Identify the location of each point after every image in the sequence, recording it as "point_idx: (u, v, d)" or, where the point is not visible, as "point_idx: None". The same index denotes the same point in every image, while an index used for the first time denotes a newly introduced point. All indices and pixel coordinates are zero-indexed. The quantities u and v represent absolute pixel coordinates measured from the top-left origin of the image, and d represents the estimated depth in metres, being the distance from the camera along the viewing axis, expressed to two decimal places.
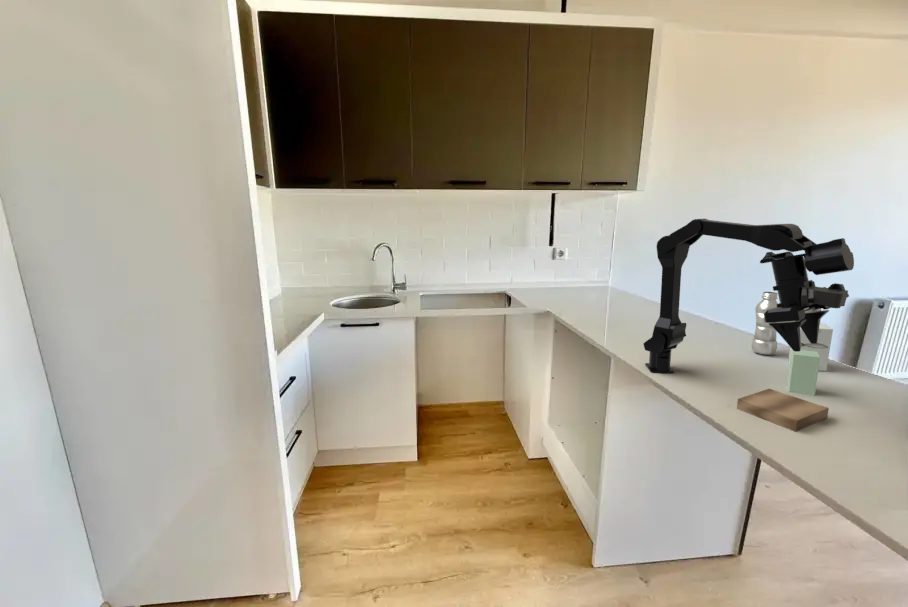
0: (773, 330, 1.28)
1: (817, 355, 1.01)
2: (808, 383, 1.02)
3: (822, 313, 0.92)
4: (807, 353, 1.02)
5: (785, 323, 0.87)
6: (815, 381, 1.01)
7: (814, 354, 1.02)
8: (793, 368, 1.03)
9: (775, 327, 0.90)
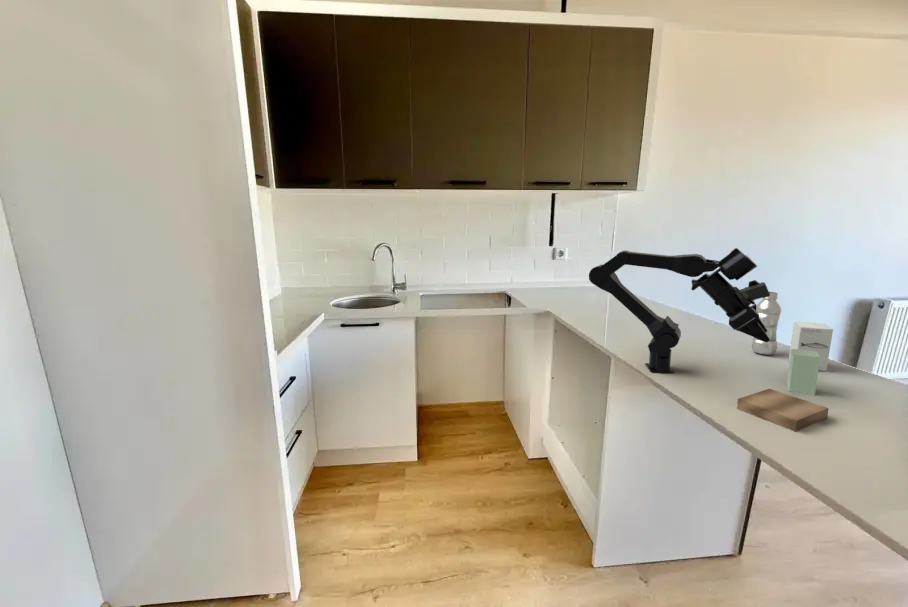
0: (773, 330, 1.28)
1: (817, 355, 1.01)
2: (808, 383, 1.02)
3: (755, 307, 1.11)
4: (807, 353, 1.02)
5: (748, 323, 1.02)
6: (815, 381, 1.01)
7: (814, 354, 1.02)
8: (793, 368, 1.03)
9: (742, 330, 1.04)
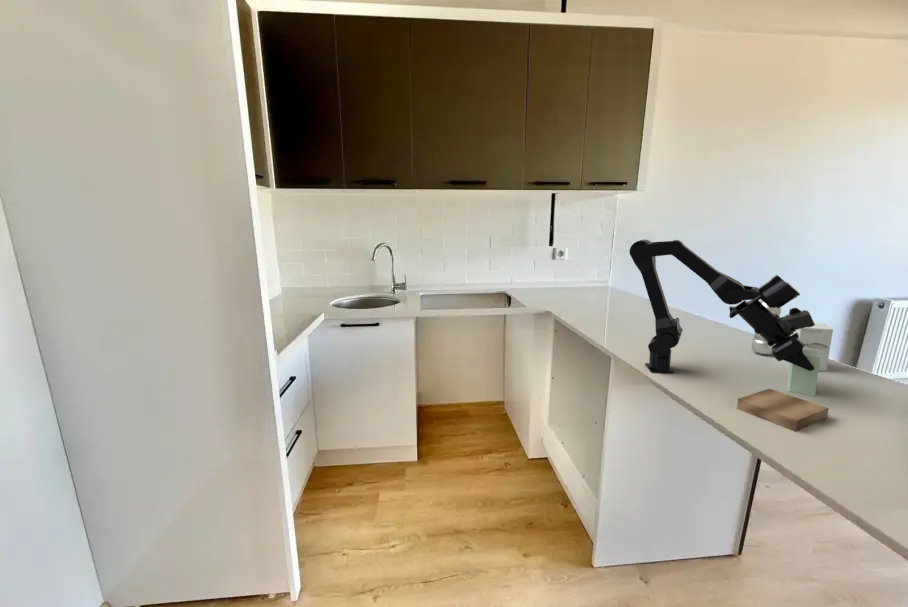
0: None
1: (817, 355, 1.01)
2: (808, 383, 1.02)
3: (797, 337, 1.06)
4: (808, 353, 1.02)
5: None
6: (815, 381, 1.01)
7: (814, 354, 1.02)
8: (793, 368, 1.03)
9: (785, 359, 1.02)
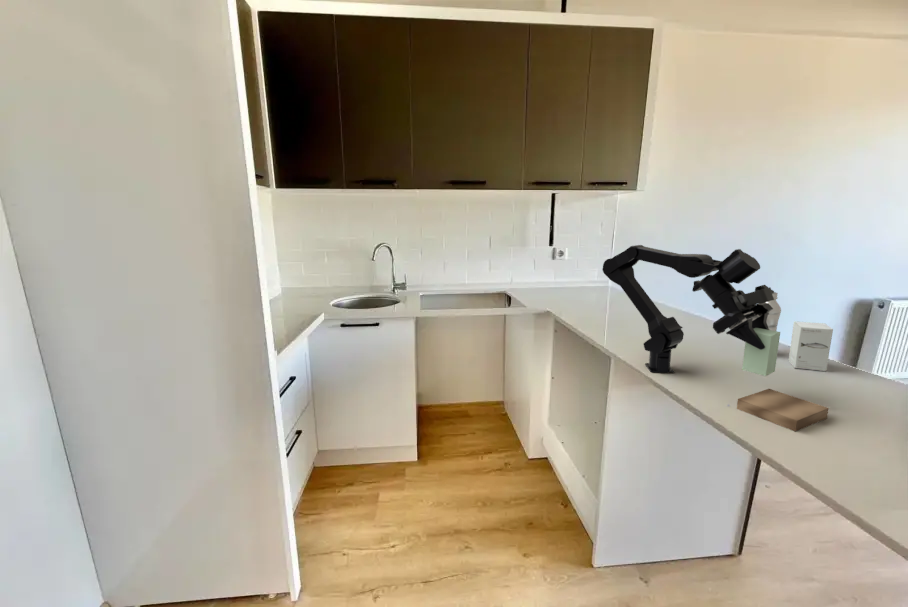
0: (773, 330, 1.28)
1: (772, 334, 0.96)
2: (760, 362, 0.98)
3: (763, 316, 1.01)
4: (764, 332, 0.98)
5: (736, 327, 0.98)
6: (766, 361, 0.97)
7: (770, 333, 0.97)
8: (746, 346, 1.00)
9: (733, 334, 1.00)
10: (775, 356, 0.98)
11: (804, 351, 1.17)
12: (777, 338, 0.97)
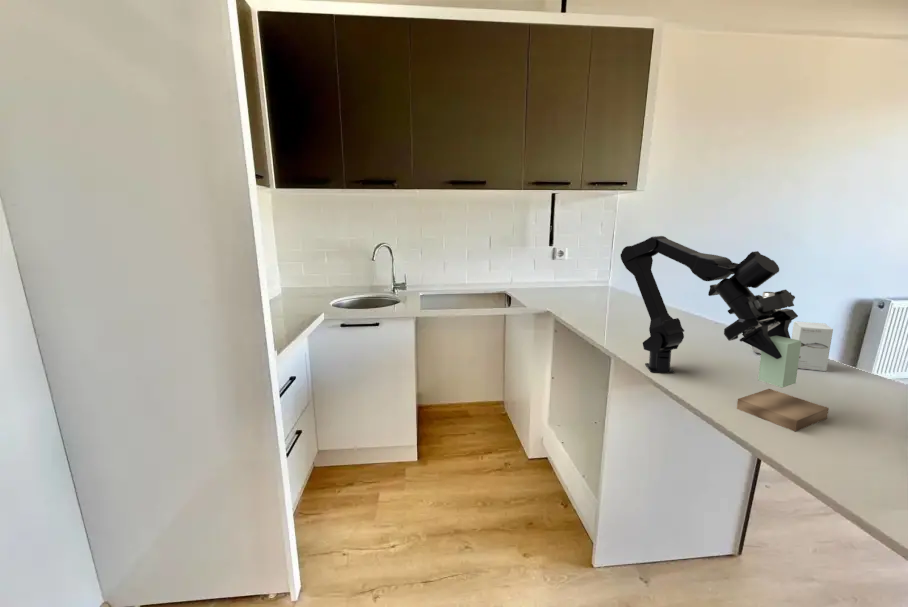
0: None
1: (789, 343, 0.89)
2: (776, 372, 0.91)
3: (783, 323, 0.94)
4: (783, 340, 0.91)
5: (750, 333, 0.92)
6: (783, 371, 0.90)
7: (789, 342, 0.90)
8: (761, 354, 0.93)
9: (747, 342, 0.94)
10: (795, 367, 0.91)
11: (804, 351, 1.17)
12: (797, 347, 0.90)
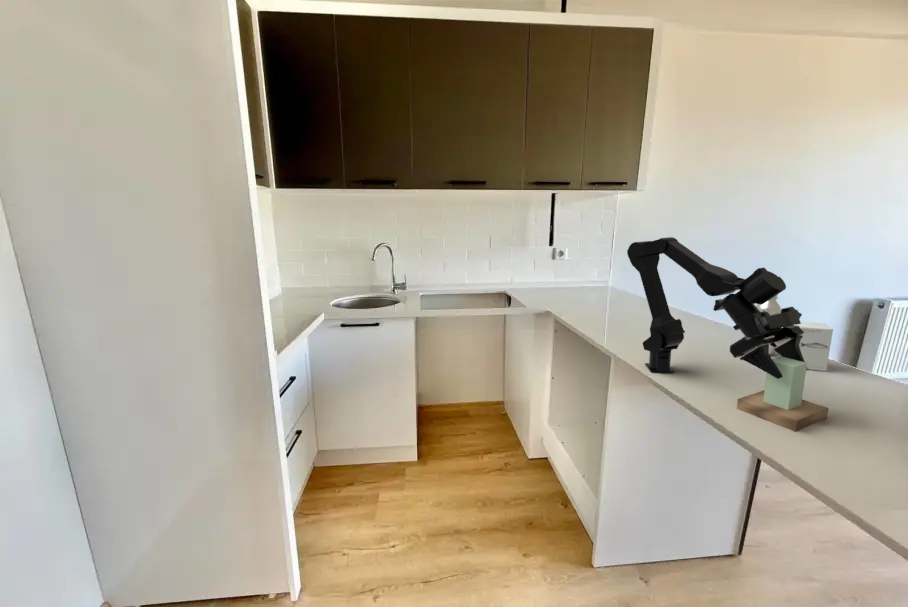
0: None
1: (795, 365, 0.89)
2: (782, 395, 0.91)
3: (795, 339, 0.94)
4: (788, 362, 0.91)
5: (750, 352, 0.90)
6: (788, 394, 0.89)
7: (794, 364, 0.89)
8: (767, 376, 0.93)
9: (748, 360, 0.92)
10: (801, 389, 0.91)
11: (803, 351, 1.17)
12: (803, 369, 0.90)
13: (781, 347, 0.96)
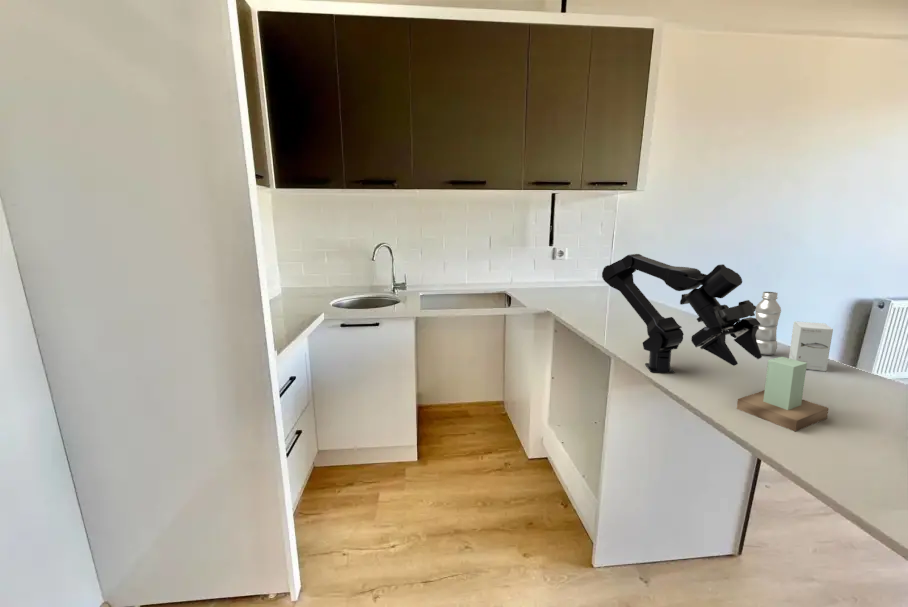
0: (773, 330, 1.28)
1: (795, 365, 0.89)
2: (782, 395, 0.91)
3: (751, 330, 1.02)
4: (788, 362, 0.91)
5: (709, 342, 0.99)
6: (788, 394, 0.89)
7: (794, 364, 0.89)
8: (767, 376, 0.93)
9: (707, 349, 1.01)
10: (801, 389, 0.91)
11: (804, 351, 1.17)
12: (803, 369, 0.90)
13: (740, 337, 1.05)
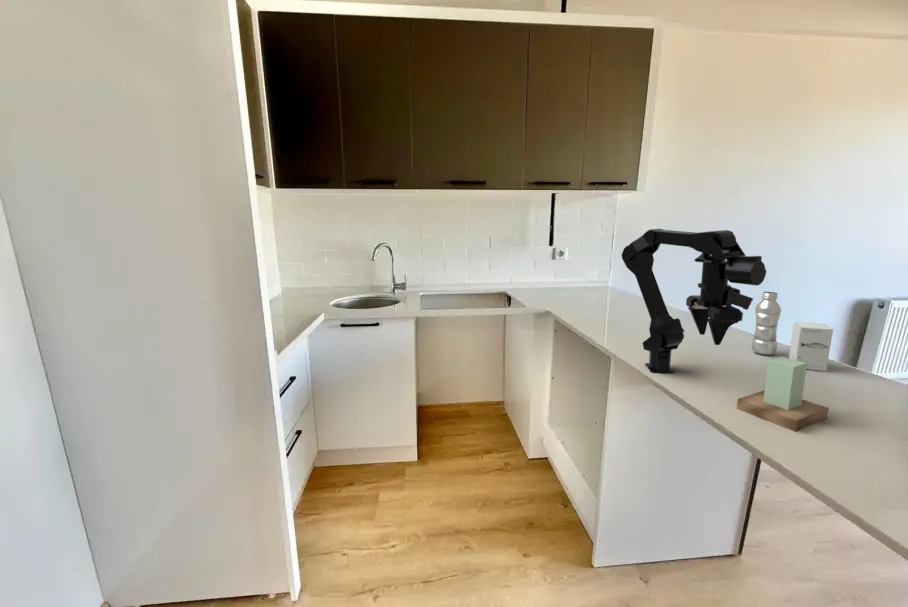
0: (773, 330, 1.28)
1: (795, 365, 0.89)
2: (782, 395, 0.91)
3: None
4: (788, 362, 0.91)
5: (727, 322, 0.98)
6: (788, 394, 0.89)
7: (794, 364, 0.89)
8: (767, 376, 0.93)
9: (712, 324, 1.00)
10: (801, 389, 0.91)
11: (803, 351, 1.17)
12: (803, 369, 0.90)
13: (698, 311, 1.11)
